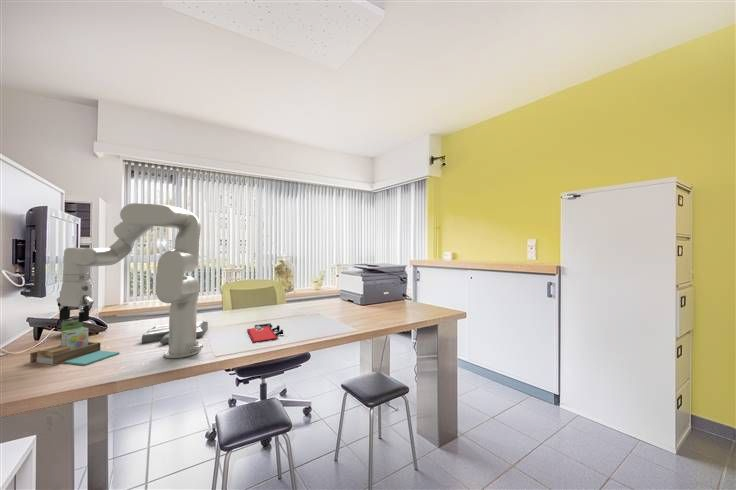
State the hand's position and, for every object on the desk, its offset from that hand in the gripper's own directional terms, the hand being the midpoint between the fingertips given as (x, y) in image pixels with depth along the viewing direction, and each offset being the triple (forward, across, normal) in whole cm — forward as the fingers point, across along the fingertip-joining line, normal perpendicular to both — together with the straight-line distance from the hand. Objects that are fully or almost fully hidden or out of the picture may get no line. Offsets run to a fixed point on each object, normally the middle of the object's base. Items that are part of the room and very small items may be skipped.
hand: (74, 320), depth 117 cm
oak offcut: (+12, -1, +6) cm, 13 cm away
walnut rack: (+14, -1, +2) cm, 14 cm away
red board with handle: (+13, -59, -44) cm, 75 cm away
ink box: (+14, -1, 0) cm, 14 cm away
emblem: (+14, -20, -30) cm, 39 cm away
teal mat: (+13, -13, +2) cm, 18 cm away
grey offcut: (+14, -1, +6) cm, 16 cm away
